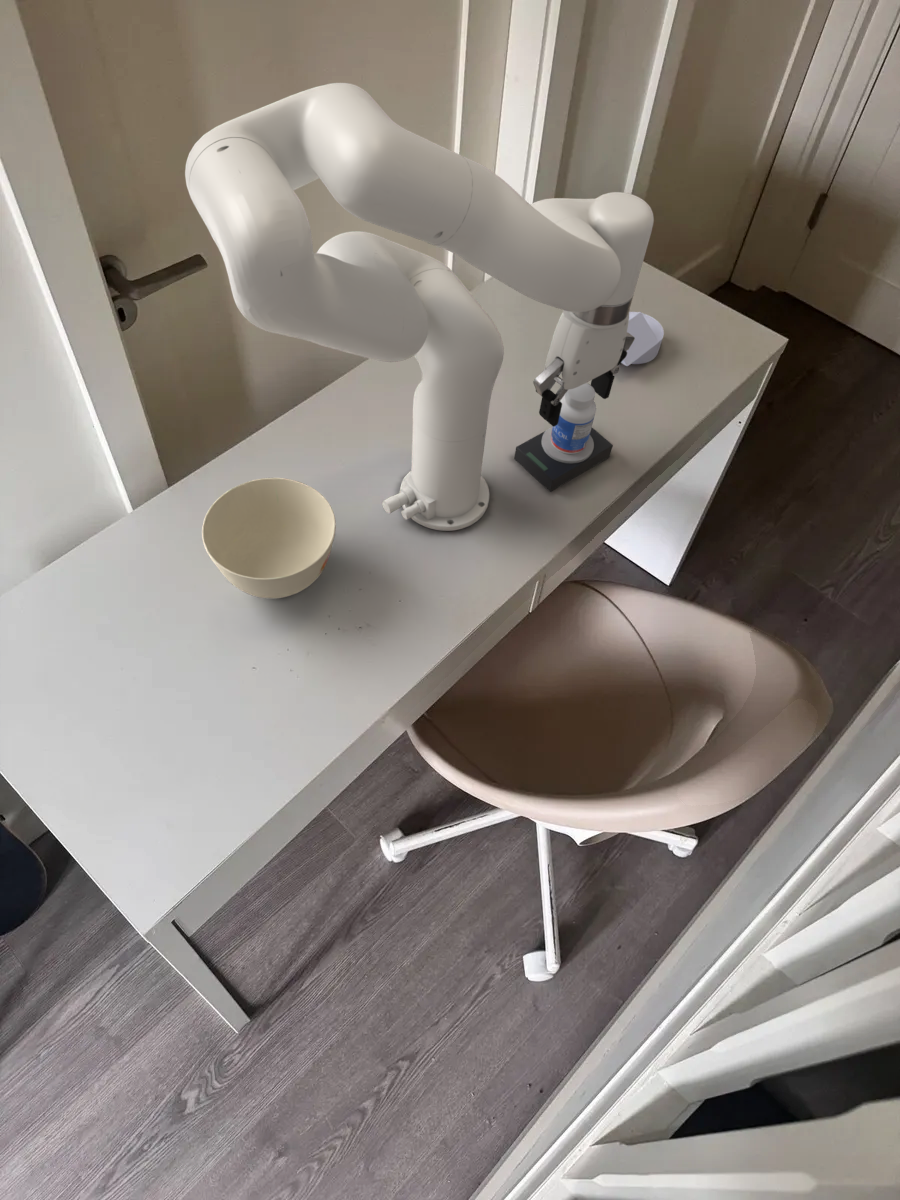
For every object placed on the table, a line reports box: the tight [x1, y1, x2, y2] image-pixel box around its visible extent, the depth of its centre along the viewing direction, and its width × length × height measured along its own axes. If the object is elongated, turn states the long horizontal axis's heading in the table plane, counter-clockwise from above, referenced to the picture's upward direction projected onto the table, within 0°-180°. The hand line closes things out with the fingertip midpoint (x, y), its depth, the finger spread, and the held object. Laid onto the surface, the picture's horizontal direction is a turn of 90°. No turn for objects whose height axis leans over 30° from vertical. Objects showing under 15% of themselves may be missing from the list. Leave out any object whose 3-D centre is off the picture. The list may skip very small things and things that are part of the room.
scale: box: [513, 425, 614, 493], centre depth 126 cm, size 12×8×3 cm, turn 128°
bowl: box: [201, 477, 337, 599], centre depth 108 cm, size 16×16×10 cm
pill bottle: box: [551, 382, 597, 454], centre depth 121 cm, size 6×5×10 cm
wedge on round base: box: [620, 311, 665, 367], centre depth 139 cm, size 9×7×13 cm
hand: (573, 406), depth 119 cm, fingers open, 9 cm apart
